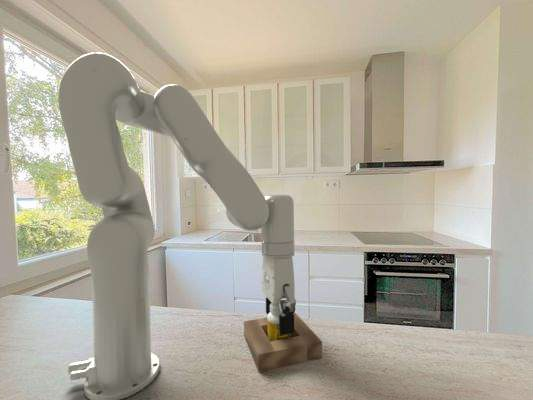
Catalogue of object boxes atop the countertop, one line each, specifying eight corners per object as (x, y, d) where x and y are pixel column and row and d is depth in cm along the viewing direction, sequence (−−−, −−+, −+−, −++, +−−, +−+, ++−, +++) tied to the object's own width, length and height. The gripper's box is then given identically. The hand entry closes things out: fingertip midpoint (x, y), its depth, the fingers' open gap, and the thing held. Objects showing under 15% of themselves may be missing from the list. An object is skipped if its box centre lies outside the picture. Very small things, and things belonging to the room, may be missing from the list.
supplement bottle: (281, 336, 61) (281, 298, 61) (295, 347, 57) (295, 305, 56) (263, 344, 58) (262, 303, 58) (276, 356, 54) (275, 312, 53)
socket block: (258, 372, 49) (258, 354, 49) (244, 335, 62) (243, 321, 62) (322, 357, 53) (322, 341, 53) (295, 326, 66) (295, 312, 66)
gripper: (253, 243, 64) (254, 309, 65) (274, 258, 48) (275, 346, 48) (280, 241, 67) (281, 305, 67) (309, 255, 50) (311, 339, 50)
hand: (279, 322), depth 57 cm, fingers open, 9 cm apart
